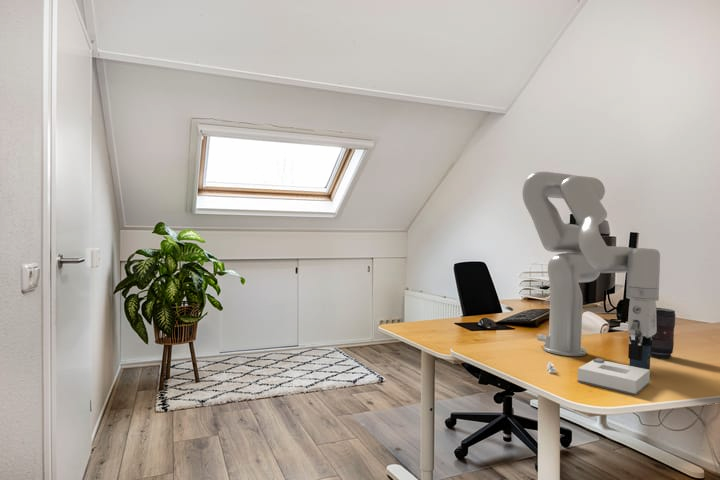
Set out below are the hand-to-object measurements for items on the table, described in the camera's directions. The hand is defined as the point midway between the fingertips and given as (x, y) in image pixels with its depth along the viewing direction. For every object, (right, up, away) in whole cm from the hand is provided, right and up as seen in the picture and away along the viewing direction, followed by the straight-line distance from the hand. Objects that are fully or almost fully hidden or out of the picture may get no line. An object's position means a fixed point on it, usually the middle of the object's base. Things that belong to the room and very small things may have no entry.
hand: (640, 356), depth 124 cm
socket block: (-12, -5, -8) cm, 15 cm away
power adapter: (-23, -5, -1) cm, 24 cm away
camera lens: (+18, -5, +19) cm, 26 cm away
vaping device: (0, -5, 0) cm, 5 cm away
